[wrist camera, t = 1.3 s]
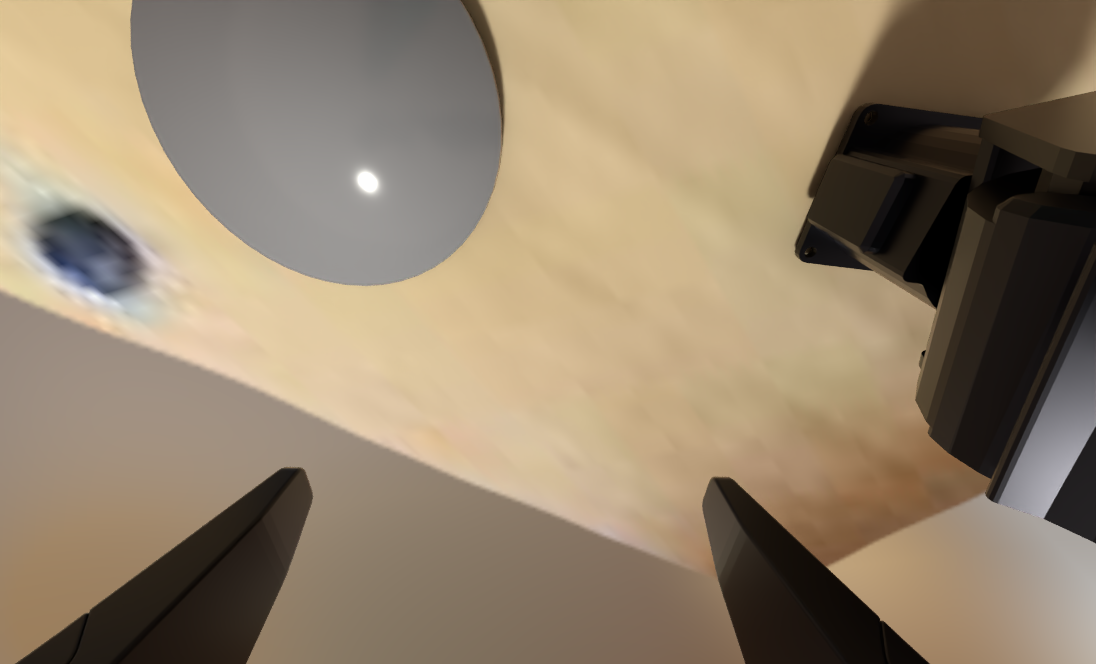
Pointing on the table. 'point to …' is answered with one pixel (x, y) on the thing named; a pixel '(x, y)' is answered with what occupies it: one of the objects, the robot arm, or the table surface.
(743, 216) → the table surface
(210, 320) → the table surface
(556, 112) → the table surface
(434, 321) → the table surface
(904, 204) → the robot arm
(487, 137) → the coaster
